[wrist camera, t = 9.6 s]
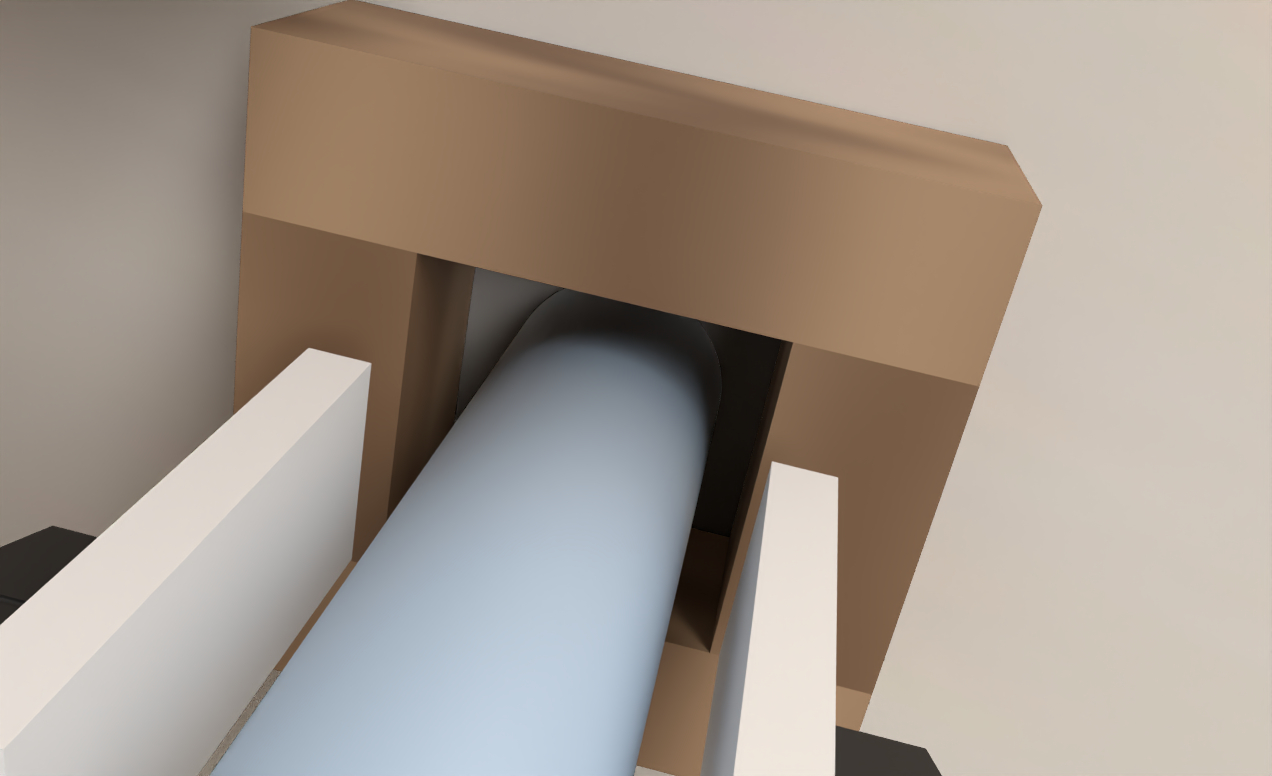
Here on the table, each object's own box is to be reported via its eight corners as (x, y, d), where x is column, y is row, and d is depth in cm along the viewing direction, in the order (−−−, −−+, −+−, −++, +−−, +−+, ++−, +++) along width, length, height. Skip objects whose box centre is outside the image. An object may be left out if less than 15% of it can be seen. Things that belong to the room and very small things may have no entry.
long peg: (497, 446, 18) (6, 1267, 8) (529, 255, 17) (-11, 929, 6) (695, 496, 18) (477, 1415, 7) (743, 309, 17) (568, 1100, 6)
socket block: (306, 547, 20) (221, 655, 17) (351, -1, 16) (250, 26, 13) (831, 682, 19) (829, 816, 17) (1007, 146, 15) (1042, 206, 13)
